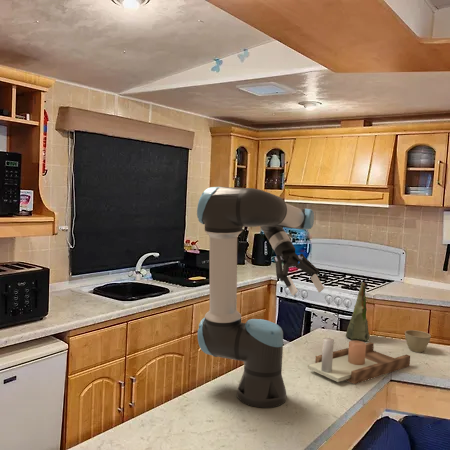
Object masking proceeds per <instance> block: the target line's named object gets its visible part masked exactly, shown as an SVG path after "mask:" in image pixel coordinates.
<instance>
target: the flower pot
mask: <svg viewBox="0 0 450 450" xmlns="http://www.w3.org/2000/svg"><path fill="white" fill-rule="evenodd" d="M404 337H405V342H406V344H407V346H408V349H409V350H410V351H412V352H415V353H422V352H424V351H425V350H426V348H427V347H428V345H429V343H430V342H431V341H430V340H431V334H430V333H428V332H426V331H422V330H414V329H409V330H405V331H404Z"/></svg>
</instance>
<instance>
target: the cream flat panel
mask: <svg viewBox="0 0 450 450" xmlns="http://www.w3.org/2000/svg"><path fill="white" fill-rule="evenodd" d="M334 341H335V340H334V339H333V338H331V337H324V338H322V351H321V353H322V354H321V355H322V362H319V363H315V362H314V363H312V364H308V365H307V369H308V370H310V371H313V372H315V373H317V374H319V375H322V376H324V377H326V378H328V379H330V380H332V381H335V382H337V383H339V382H343V381H346V379H349V378H351V371H354V370H357V369H360V368H364V367H367V366H370V365H374V364H377V363H376V362H373V361H371V360H368V359H366V358H365V364H363V365H354V364H351V363H349V362H348V355H345V356H341V357H337V358H333V352H334Z"/></svg>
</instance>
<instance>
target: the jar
mask: <svg viewBox="0 0 450 450" xmlns="http://www.w3.org/2000/svg"><path fill="white" fill-rule="evenodd" d="M348 348H349V351H348V362H349V363H351V364H354V365H363V364H365V353H366V342H364V341H363V340H358V339H352V340H349V341H348Z"/></svg>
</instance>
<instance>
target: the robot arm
mask: <svg viewBox="0 0 450 450" xmlns="http://www.w3.org/2000/svg"><path fill="white" fill-rule="evenodd" d="M196 215H197V219H198V222H199V223H200V224H201V225H204V232H205V233H206V235H208V237H209V309H208V311H207V312H206V313H205V314H204V317H203V318H202V319H201V320H200V322H199V323H198V329H197V342H198V346H199V349H200V350H201V351H202V352H203V353H204V354H206V355H209V356H212V357H215V358H217V357H218V358H222V359H227V360H234V361H240V362H243V365H244V366H243V373H242V376H241V378H240V381H239V383H238V386H237V390H236V391H237V393H236V395H237V397H236V398H237V399H238V400H239V401H240V402H241V403H243V404H245V405H247V406H250V407H254V408H262V409H264V408H265V409H267V408H276V407H279V406H281V405H283V404H284V403H285V402H286V401H287V390H286V386H285V382H284V378H283V375H282V372H283V371H282V370H283V368H282V367H283V355H284V354H283V353H284V352H283V351H284V343H285V342H284V331H283V328H282V327H281V326H280V325H279V324H277V323H275V322H272V321H270V320H267V319H263V318H262V319H261V318H259V319H258V318H250V319H247V320H246V322H242V314H241V313H240V312H239V311H238V310H237V304H238V302H237V301H238V300H237V298H238V295H237V293H238V288H237V286H238V236H239V235H240V234H241V233H242V232H243V228H244V227H247V228H255V227H257V228H258V227H260V229H261V230H262V232H263V233H264V235H265V237H266V238H267V240H268V242H269V244H270V245H271V248H272V249H273V251H274V253H275V255H276V256H275V257H274V258H273V260H274V263H275V272H276V279H277V280H280V281H281V282H283V284H285V286H286V287H287V289H288V291H289V293H290V294H291V296H295V295H296V294H297V293H298V292H299V290H298V288H297V287H296V285H295V284H294V281H293V280H292V278H291V276H290V275H288V274H289V269H290V268H297V269H299V270H301V271H303V272H304V273H305V274H306V275H308V276H310V280H311V281H312V283H313V285H314V287H315V289H316V290H317V292H318V293H321V292H323V290H324V289H325V287H324V285H323V283H322V282H321V279H320V278H319V276H318V274H319V273H320V270H319V269H318V268H317V267H316V266H315V265H314V264H313V263H312V262H310V260H308V259H307V258H306V256H305V254H304V253H300V254H299V255H298V254H297V253H296V247H295V246H294V244H293V243H292V241H291V238H290V237H289V235H288V233H287V232H286V231H285V229H287V228H288V229H299V230H312V228H313V226H314V221H315V215H314V210H313V209H311V208H301V207H297V206H294V205H292V204H289V203H287V202H286V201H285V200H284V199H283V198H282V197H280V196H278V195H276V194H273V193H271V192H267V191H265V190H262V189H258V188H252V187H232V186H231V187H229V186H210V187H208V188H206V189H205V190H203V192H202V193H201V195H200V196H199V199H198V203H197V206H196ZM284 228H285V229H284Z"/></svg>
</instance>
